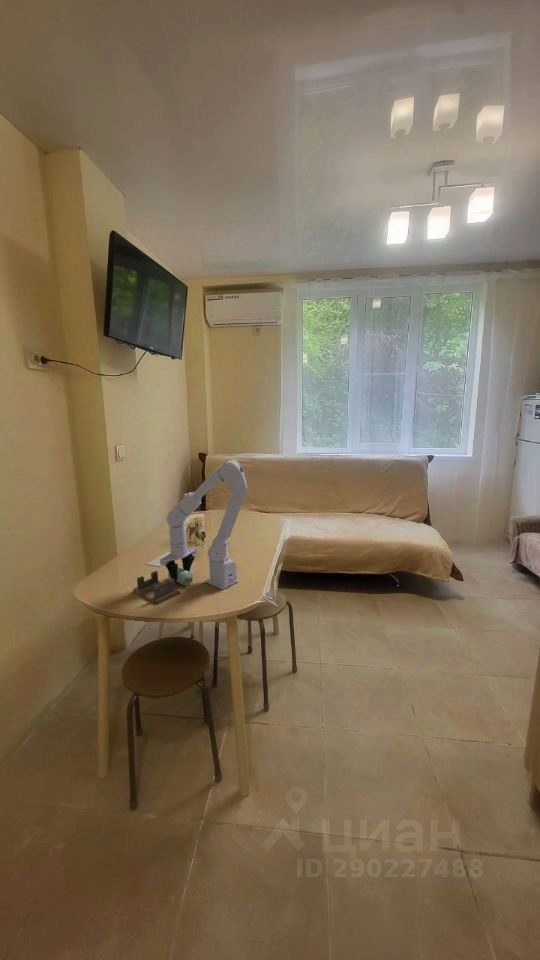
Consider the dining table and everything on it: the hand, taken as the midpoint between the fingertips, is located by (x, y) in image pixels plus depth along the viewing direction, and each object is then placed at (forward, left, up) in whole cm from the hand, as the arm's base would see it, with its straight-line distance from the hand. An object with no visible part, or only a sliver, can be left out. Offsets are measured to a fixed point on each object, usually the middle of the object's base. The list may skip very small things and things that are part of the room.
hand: (180, 577), depth 130 cm
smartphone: (+23, -9, -2) cm, 25 cm away
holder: (0, +10, -2) cm, 10 cm away
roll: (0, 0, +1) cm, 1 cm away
